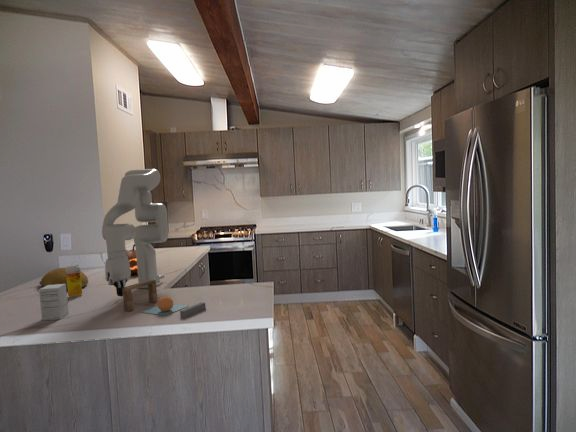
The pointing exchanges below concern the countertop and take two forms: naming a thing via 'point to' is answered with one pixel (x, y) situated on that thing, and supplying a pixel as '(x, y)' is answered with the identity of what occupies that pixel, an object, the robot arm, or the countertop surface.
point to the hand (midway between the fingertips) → (121, 295)
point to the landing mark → (159, 312)
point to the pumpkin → (132, 260)
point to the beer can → (74, 281)
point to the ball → (165, 303)
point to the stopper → (192, 310)
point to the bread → (60, 278)
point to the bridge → (128, 290)
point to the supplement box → (53, 301)
